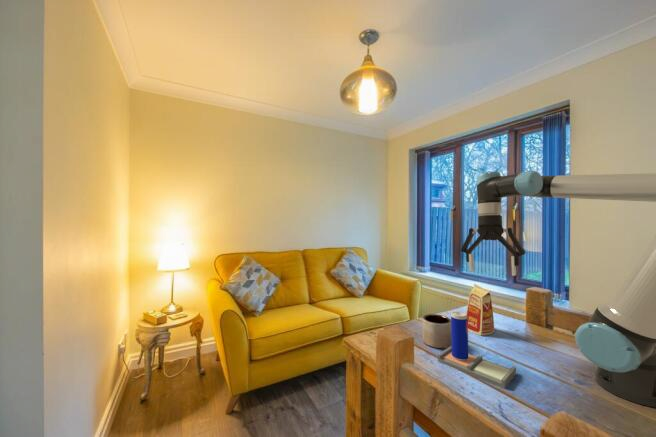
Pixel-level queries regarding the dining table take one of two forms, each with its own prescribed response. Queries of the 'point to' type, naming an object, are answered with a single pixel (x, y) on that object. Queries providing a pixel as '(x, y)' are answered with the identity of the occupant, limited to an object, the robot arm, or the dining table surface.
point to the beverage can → (459, 335)
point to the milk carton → (480, 311)
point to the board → (479, 368)
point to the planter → (437, 331)
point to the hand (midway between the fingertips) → (491, 273)
